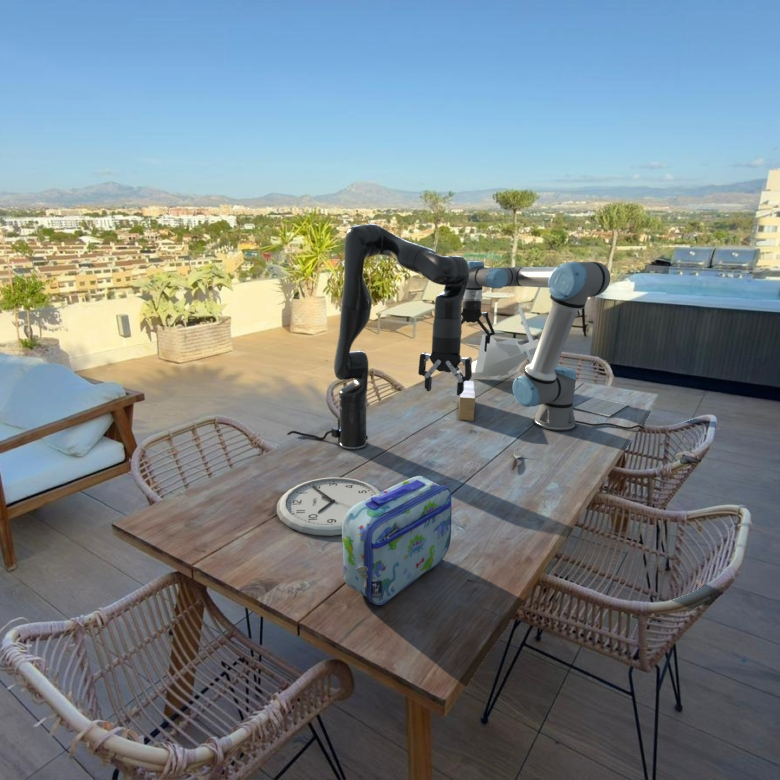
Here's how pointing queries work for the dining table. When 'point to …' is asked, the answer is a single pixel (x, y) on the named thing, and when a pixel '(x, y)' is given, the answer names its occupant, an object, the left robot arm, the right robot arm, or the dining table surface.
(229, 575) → the dining table surface
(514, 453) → the fork
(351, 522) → the lunch box
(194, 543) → the dining table surface
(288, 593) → the dining table surface
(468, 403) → the bar
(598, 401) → the invitation card
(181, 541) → the dining table surface
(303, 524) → the wall clock
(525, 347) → the white plastic object
